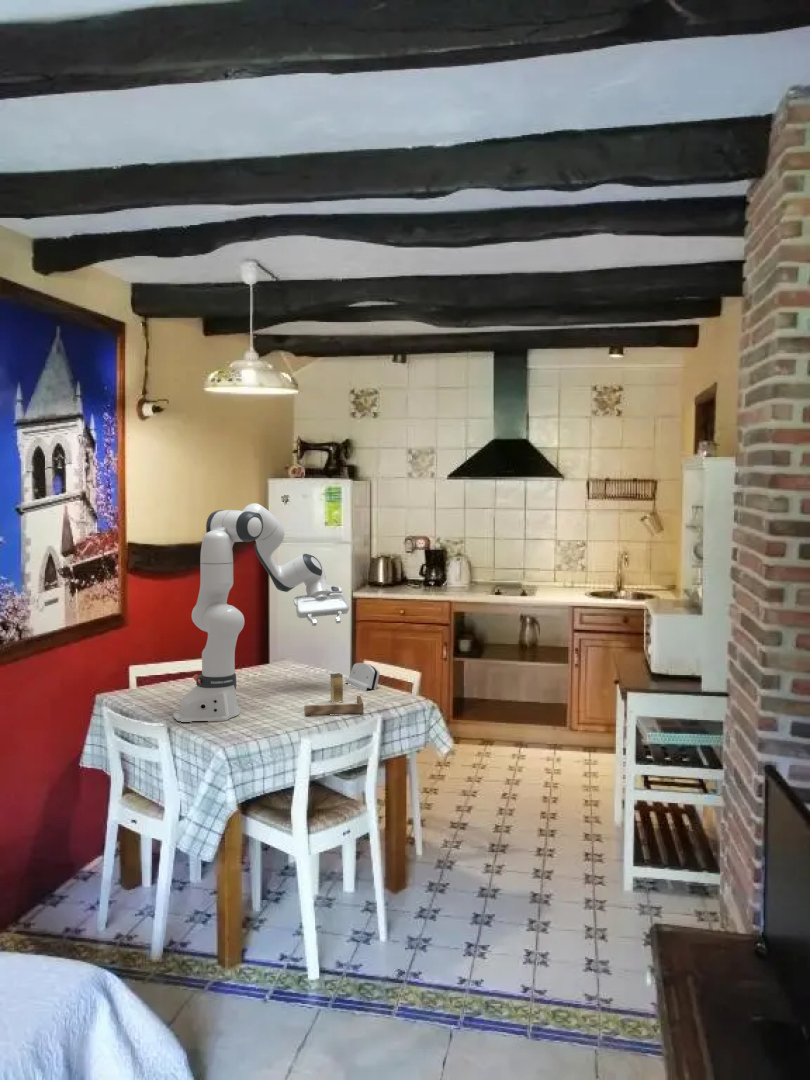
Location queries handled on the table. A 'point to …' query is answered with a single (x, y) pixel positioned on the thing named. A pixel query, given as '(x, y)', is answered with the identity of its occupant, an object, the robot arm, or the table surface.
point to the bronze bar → (336, 687)
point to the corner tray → (335, 708)
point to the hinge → (363, 676)
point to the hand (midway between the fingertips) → (326, 623)
